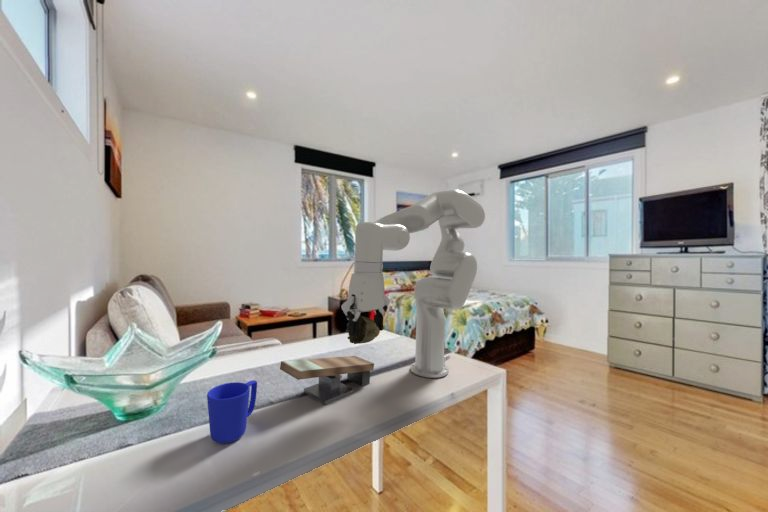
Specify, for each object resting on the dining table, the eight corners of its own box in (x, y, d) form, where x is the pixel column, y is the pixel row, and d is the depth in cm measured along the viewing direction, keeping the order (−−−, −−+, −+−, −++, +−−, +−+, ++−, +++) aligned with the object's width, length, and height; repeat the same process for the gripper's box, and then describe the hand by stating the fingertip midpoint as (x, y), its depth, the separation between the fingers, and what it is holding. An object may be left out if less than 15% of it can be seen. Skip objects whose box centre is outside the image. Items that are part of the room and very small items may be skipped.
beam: (352, 364, 102) (353, 355, 102) (373, 374, 95) (375, 363, 95) (278, 372, 84) (280, 360, 84) (298, 384, 77) (300, 371, 77)
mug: (269, 420, 75) (269, 378, 74) (228, 452, 63) (228, 402, 63) (241, 414, 77) (241, 373, 77) (197, 442, 66) (197, 395, 65)
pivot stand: (351, 375, 102) (351, 359, 102) (373, 385, 95) (373, 367, 95) (303, 392, 89) (304, 373, 89) (324, 405, 83) (325, 385, 82)
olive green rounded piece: (388, 339, 85) (368, 338, 79) (369, 348, 89) (348, 348, 83) (382, 313, 89) (362, 310, 83) (364, 323, 92) (343, 321, 87)
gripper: (380, 266, 94) (378, 324, 95) (333, 268, 82) (331, 335, 82) (399, 268, 89) (397, 329, 90) (353, 270, 76) (351, 341, 77)
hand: (366, 332), depth 86 cm, fingers closed on olive green rounded piece, 8 cm apart
